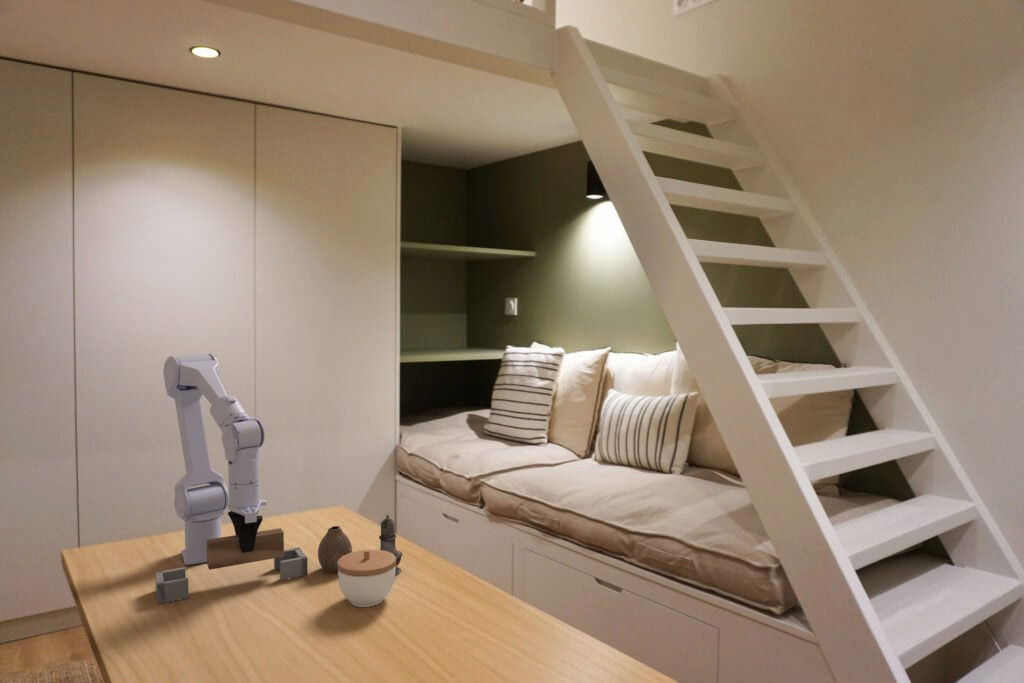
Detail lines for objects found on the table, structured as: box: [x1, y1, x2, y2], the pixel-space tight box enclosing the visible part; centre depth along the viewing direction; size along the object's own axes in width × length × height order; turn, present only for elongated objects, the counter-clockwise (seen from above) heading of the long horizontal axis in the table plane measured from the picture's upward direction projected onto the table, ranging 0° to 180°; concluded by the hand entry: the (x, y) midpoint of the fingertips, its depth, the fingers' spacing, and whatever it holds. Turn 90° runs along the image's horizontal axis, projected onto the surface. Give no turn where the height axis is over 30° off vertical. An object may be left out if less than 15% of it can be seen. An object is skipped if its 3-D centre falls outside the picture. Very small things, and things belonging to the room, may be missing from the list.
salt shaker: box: [378, 514, 403, 576], centre depth 143 cm, size 6×6×12 cm
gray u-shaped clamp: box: [154, 566, 190, 605], centre depth 132 cm, size 7×5×4 cm
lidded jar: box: [337, 549, 396, 608], centre depth 129 cm, size 11×11×9 cm
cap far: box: [273, 546, 309, 581], centre depth 143 cm, size 7×5×4 cm
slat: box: [206, 527, 285, 571], centre depth 138 cm, size 3×14×5 cm, turn 120°
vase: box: [317, 525, 353, 574], centre depth 144 cm, size 7×7×9 cm
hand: (245, 548), depth 138 cm, fingers closed on slat, 3 cm apart
